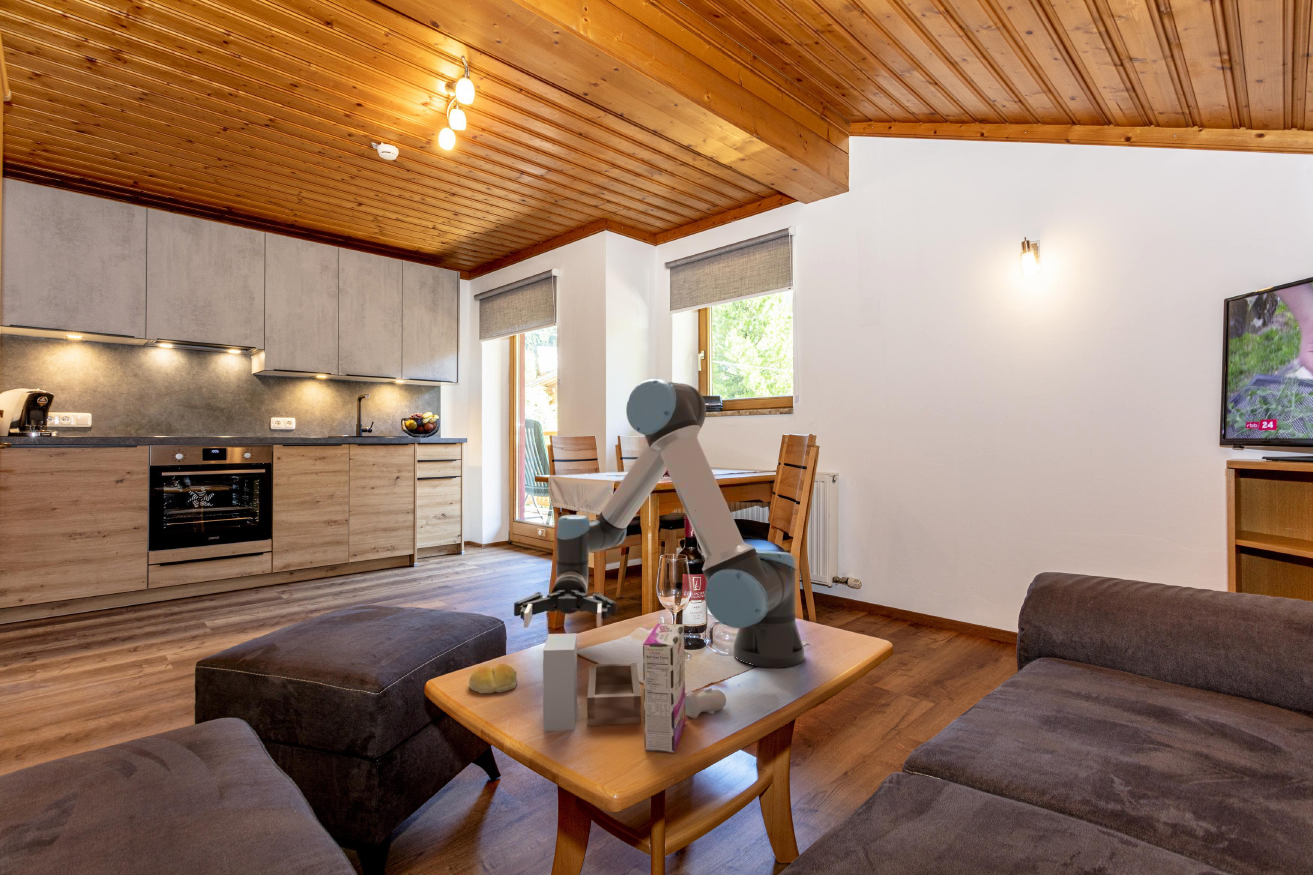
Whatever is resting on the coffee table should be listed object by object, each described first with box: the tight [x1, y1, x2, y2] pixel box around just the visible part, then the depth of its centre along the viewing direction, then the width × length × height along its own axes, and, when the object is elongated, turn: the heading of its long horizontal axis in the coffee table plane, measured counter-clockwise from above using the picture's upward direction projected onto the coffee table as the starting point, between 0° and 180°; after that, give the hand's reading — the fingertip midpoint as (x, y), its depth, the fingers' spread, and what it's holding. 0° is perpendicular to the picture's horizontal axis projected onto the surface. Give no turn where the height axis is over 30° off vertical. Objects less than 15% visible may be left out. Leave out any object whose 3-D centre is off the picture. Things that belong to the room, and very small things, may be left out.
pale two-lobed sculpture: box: [685, 687, 727, 720], centre depth 110 cm, size 4×8×5 cm
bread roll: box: [468, 663, 518, 694], centre depth 122 cm, size 8×9×4 cm
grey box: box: [542, 632, 578, 732], centre depth 107 cm, size 5×9×13 cm, turn 4°
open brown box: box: [586, 662, 642, 726], centre depth 113 cm, size 9×16×4 cm, turn 4°
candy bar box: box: [642, 622, 687, 754], centre depth 100 cm, size 11×5×16 cm, turn 168°
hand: (562, 620), depth 118 cm, fingers open, 13 cm apart
